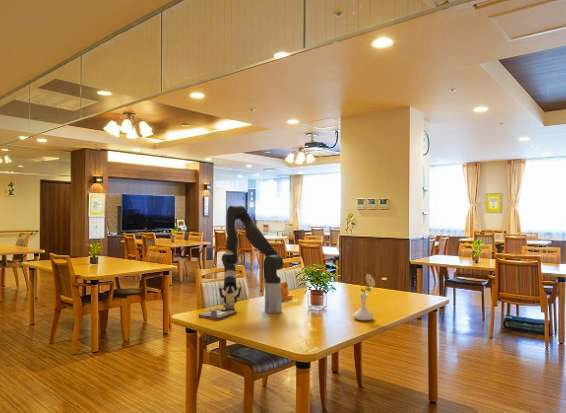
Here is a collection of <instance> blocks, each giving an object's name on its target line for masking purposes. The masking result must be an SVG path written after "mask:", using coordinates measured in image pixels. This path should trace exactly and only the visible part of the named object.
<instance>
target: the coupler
mask: <svg viewBox="0 0 566 413" xmlns="http://www.w3.org/2000/svg"><path fill="white" fill-rule="evenodd" d="M234 302H235V293H233V292H232V293H226V304H225V305H229V308H228V310H231V311H236V310H235V304H234Z"/></svg>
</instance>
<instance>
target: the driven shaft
mask: <svg viewBox="0 0 566 413" xmlns="http://www.w3.org/2000/svg"><path fill="white" fill-rule="evenodd" d="M211 310H212V311H211ZM211 310H210V311H211V316H214V317H216V316H217V311H215V310H214V309H211Z"/></svg>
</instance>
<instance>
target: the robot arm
mask: <svg viewBox="0 0 566 413" xmlns="http://www.w3.org/2000/svg"><path fill="white" fill-rule="evenodd" d="M226 210H227V211H226V226H227V229H226V230H227V232H226V234H227V236H226V243H225V244H226V245H225V249H226V250H227V251H229V252H232V253H227V252H224V253H223V254H222V255H221V262H222V265H223V268H224V274H223V287H219V288H218V293H219V296H220V298H221V299H223V303H224V304H225V305H226V293H232V292H233V293H235V302H234V305H235V304H237V301H238V300H237V298H240V296H241V292H242V286H239V287H238V286H237V270H236V266H235V265H237V264H238V261H239V256H238V243H239V237H238V233H237V231H236V227H235V223H236V220H239V221H241V222H242V224H243V226H244V232H245V233H244V234H245V237H246V239H247V240H248V242H249V243H250V244H251V246H252V247H253V248H255V249H256V250H258V251H259V252H260V253H262V254H263V255H264V256H265V258H264V260H263V266H262V267H263V278H264V312H265V313H267V314H278V313H280V312H282V310H283V309H282V307H283V306H282V304H283V301H282V295H280V288H281V281H282V280H281V277H280V276H278V273H277V271H279V270H281V269H283V267H284V260H283V258H282V256H281V255H280V253H278V251H277V250H276V249H274V247H273V246H272V245H271V243H270V242H269V241H268V240H267V238H266V237H265V235H264V234H263V233H262V231H261V230H260V229H259V228H258V226H257V225H256V223H255V222H254V220H253V219H252V218H251V216H250V214H249V213H248V211H247V209H246V208H245V207H244V205H242V204H233V205H230V206H228V208H227V209H226ZM223 291H224V294H223ZM236 291H237V293H236Z"/></svg>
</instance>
